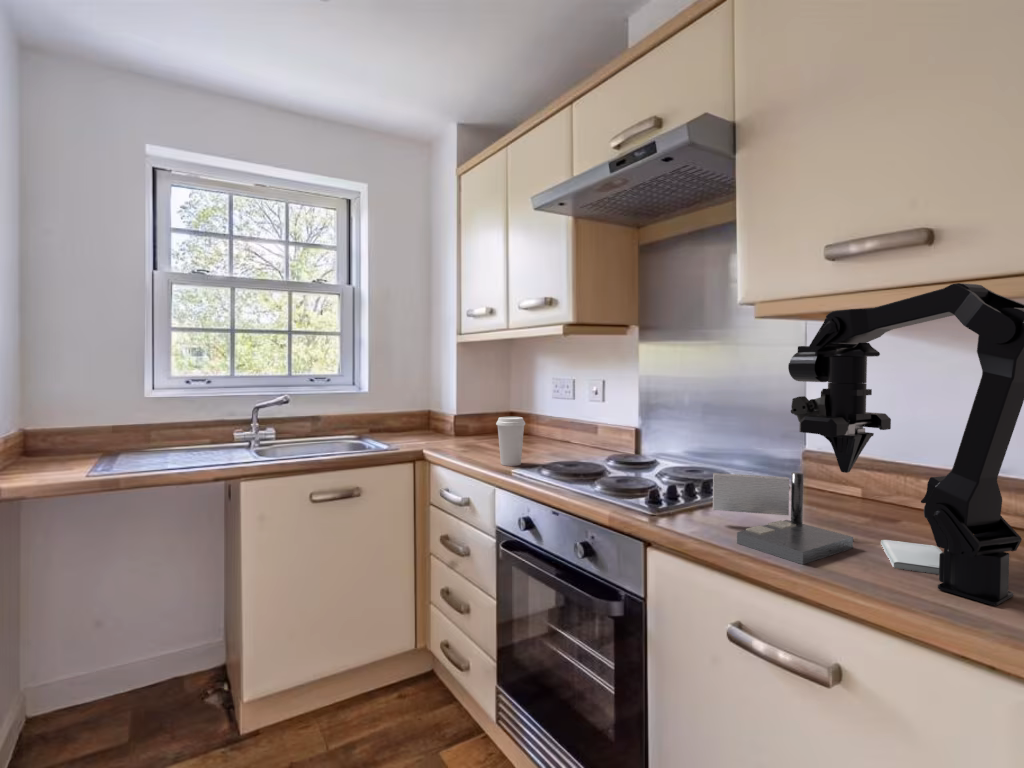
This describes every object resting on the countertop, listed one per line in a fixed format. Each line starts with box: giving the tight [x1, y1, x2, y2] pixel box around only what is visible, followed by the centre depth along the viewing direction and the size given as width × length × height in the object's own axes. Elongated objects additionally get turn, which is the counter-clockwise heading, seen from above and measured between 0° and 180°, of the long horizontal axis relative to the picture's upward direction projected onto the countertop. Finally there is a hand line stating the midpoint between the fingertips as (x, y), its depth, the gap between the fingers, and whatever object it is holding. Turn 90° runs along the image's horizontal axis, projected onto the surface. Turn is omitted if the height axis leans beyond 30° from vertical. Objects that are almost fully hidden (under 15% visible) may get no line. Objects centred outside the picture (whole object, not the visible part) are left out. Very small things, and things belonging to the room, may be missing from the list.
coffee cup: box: [495, 416, 527, 467], centre depth 173 cm, size 10×10×15 cm
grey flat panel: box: [712, 472, 790, 516], centre depth 105 cm, size 14×2×7 cm, turn 73°
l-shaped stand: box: [736, 471, 854, 566], centre depth 94 cm, size 12×18×11 cm
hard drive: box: [880, 539, 943, 575], centre depth 87 cm, size 2×8×12 cm
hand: (845, 472), depth 94 cm, fingers closed
